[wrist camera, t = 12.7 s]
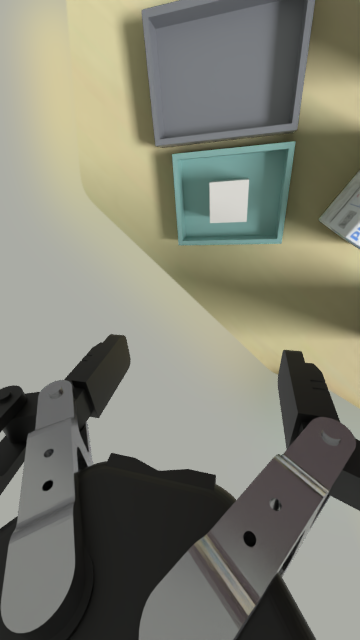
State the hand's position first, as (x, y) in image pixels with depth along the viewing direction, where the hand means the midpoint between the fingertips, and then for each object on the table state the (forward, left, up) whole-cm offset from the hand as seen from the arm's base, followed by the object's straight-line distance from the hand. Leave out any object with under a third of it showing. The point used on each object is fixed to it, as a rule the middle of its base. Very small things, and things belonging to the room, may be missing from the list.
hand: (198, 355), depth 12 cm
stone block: (0, -5, -28) cm, 28 cm away
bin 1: (+1, -17, -28) cm, 33 cm away
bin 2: (0, -5, -28) cm, 29 cm away
